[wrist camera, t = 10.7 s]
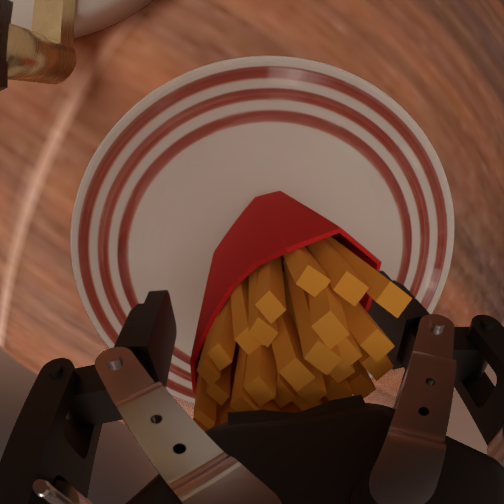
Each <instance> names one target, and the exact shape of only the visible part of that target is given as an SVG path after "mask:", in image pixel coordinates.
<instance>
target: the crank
mask: <svg viewBox="0 0 504 504" xmlns="http://www.w3.org/2000/svg"><path fill="white" fill-rule="evenodd" d="M13 3H14V2H12V1H9V0H0V91H1V90H3V89H5V88H7V79H8V80H19V81H29V82H37V83H45V84H59V83H61V82H63V81H64V80H66V79H67V78H68V77H69V76H70V74H71V73H72V71H73V70H74V67H75V65H76V59H77V56H76V51H75V49H74V18H75V3H76V0H35V2H34V9H33V19H32V30H29V29H26V28H23V27H20V26H17V25H14V24H11V17H12V10H13Z"/></svg>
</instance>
